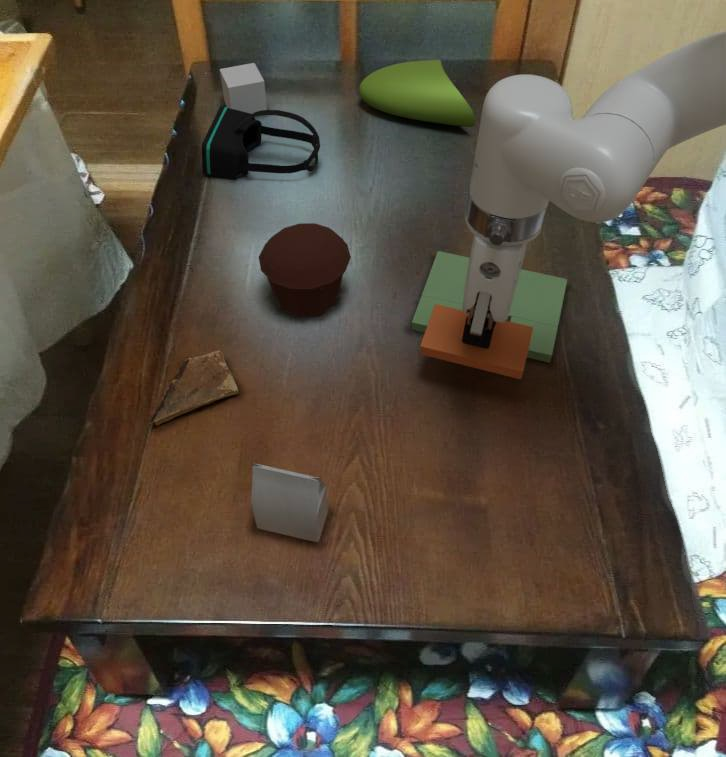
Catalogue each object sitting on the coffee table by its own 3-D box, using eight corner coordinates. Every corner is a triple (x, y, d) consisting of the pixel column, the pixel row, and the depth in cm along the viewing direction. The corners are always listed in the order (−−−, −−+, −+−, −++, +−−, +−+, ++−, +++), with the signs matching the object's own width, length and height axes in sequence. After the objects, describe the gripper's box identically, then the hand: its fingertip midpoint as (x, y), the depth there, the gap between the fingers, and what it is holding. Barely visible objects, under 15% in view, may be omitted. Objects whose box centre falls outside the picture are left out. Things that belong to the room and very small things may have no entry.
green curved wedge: (482, 48, 120) (361, 45, 123) (476, 102, 115) (350, 98, 118) (479, 86, 127) (366, 83, 130) (474, 139, 122) (355, 135, 125)
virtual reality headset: (222, 133, 120) (220, 78, 112) (323, 155, 120) (329, 101, 112) (202, 175, 113) (199, 119, 105) (309, 198, 113) (314, 144, 105)
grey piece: (318, 542, 77) (314, 496, 69) (257, 528, 78) (246, 481, 70) (327, 512, 79) (325, 464, 71) (268, 498, 80) (258, 449, 72)
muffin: (281, 335, 94) (274, 280, 86) (251, 279, 100) (242, 223, 92) (364, 307, 97) (365, 251, 89) (331, 254, 103) (329, 197, 95)
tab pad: (536, 309, 90) (550, 265, 84) (520, 379, 84) (534, 336, 78) (442, 287, 92) (448, 242, 86) (419, 354, 86) (424, 310, 80)
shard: (152, 429, 85) (149, 420, 84) (135, 382, 89) (131, 373, 88) (240, 397, 88) (239, 388, 87) (219, 352, 92) (217, 343, 91)
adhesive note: (233, 121, 123) (228, 87, 118) (224, 101, 126) (219, 69, 121) (267, 113, 124) (264, 80, 119) (258, 95, 128) (254, 62, 123)
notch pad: (565, 286, 100) (567, 279, 99) (549, 363, 92) (552, 355, 91) (436, 258, 103) (437, 250, 102) (410, 329, 95) (411, 322, 94)
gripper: (530, 274, 65) (497, 395, 80) (557, 166, 74) (522, 293, 89) (448, 255, 66) (430, 378, 81) (484, 152, 76) (462, 279, 90)
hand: (478, 332), depth 85 cm, fingers closed on tab pad, 2 cm apart
